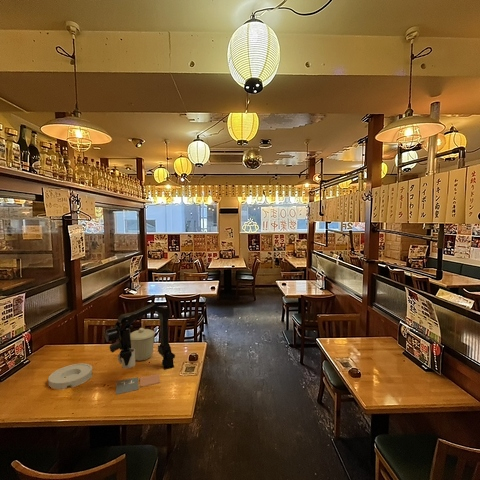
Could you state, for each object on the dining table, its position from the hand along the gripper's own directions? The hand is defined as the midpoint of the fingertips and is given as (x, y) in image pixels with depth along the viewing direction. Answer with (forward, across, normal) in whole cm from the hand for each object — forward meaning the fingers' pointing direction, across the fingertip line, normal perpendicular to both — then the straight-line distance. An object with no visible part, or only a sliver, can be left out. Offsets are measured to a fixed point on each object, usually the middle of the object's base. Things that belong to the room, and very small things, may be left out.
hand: (126, 362), depth 167 cm
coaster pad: (+12, +3, +12) cm, 18 cm away
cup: (+2, -1, 0) cm, 2 cm away
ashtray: (+13, -20, -32) cm, 40 cm away
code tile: (+12, +3, 0) cm, 13 cm away
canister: (+13, -31, +10) cm, 35 cm away
